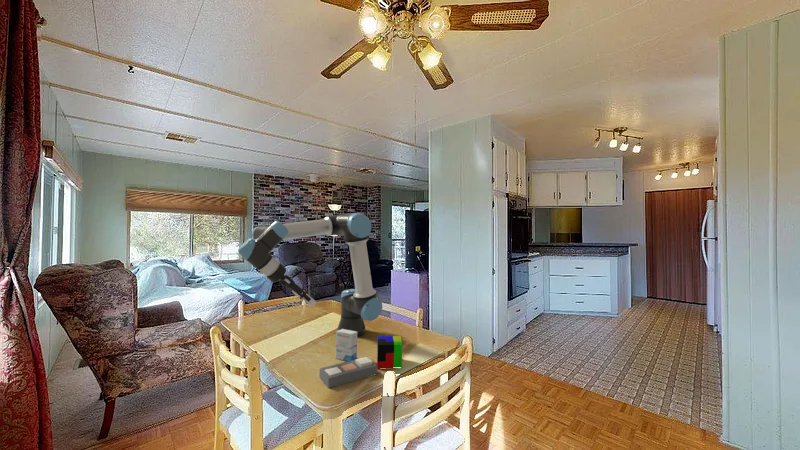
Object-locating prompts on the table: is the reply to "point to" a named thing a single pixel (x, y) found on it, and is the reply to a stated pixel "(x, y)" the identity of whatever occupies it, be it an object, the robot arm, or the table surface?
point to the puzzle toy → (389, 352)
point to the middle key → (348, 367)
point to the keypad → (346, 374)
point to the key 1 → (333, 371)
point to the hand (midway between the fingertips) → (309, 301)
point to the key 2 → (363, 362)
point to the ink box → (346, 345)
